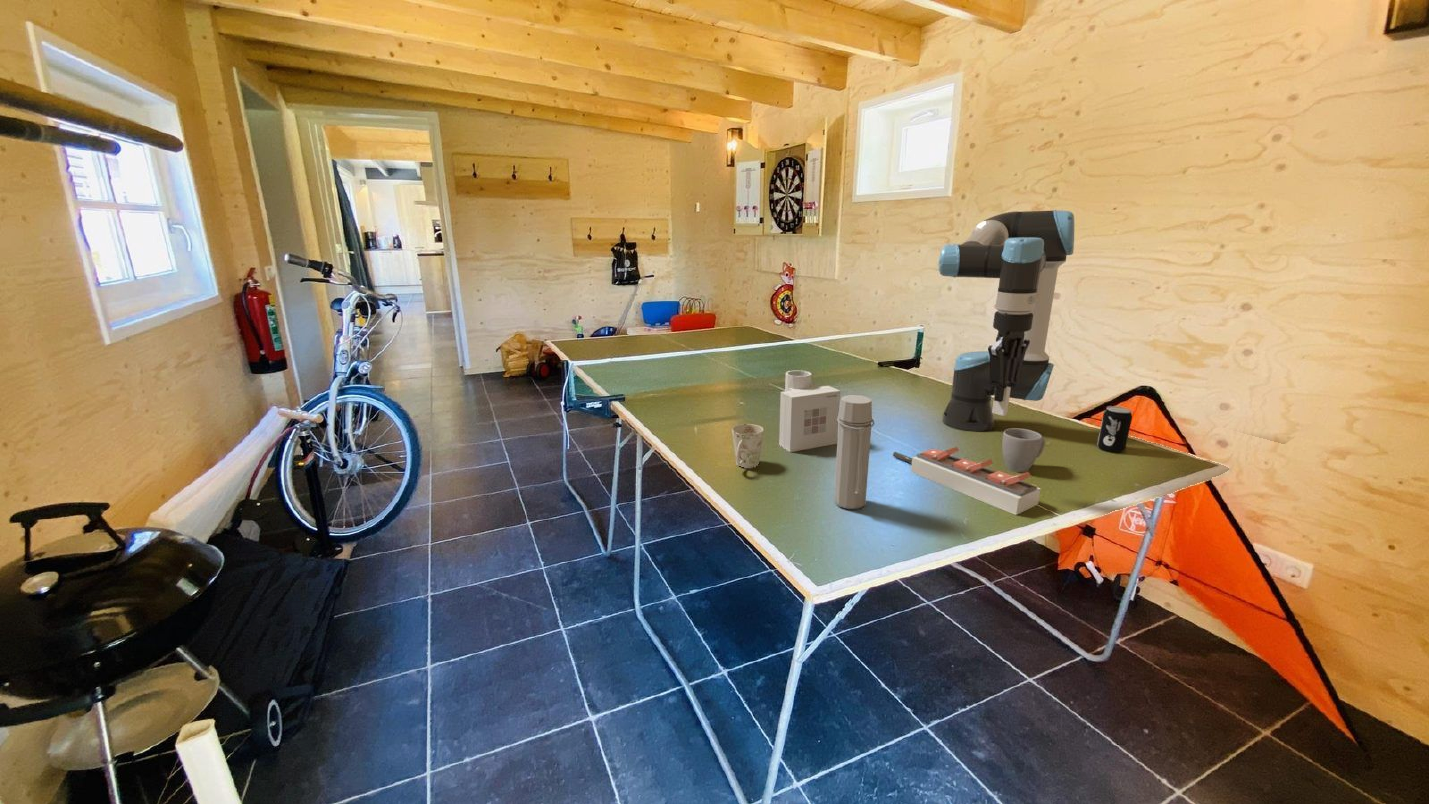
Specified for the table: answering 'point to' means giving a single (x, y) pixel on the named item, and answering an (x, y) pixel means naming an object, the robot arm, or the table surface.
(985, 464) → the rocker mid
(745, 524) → the table surface
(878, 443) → the table surface
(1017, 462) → the mug
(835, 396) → the white detergent container
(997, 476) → the rocker
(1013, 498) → the power strip
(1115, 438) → the beverage can
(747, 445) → the mug
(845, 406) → the water bottle
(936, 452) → the rocker
